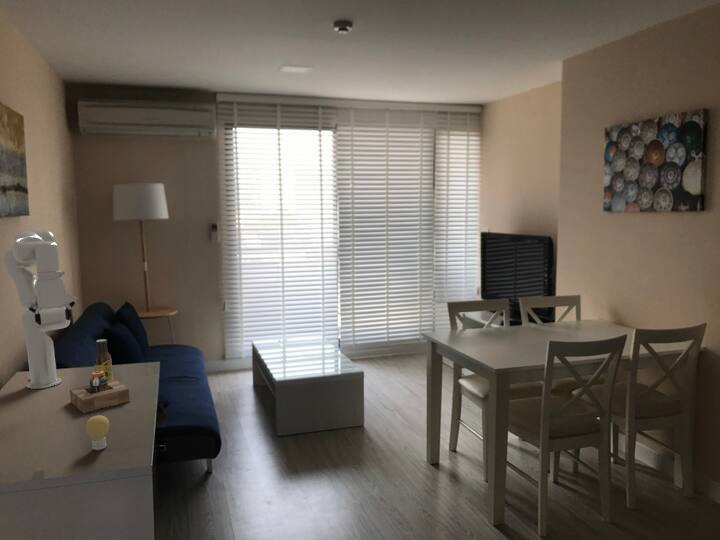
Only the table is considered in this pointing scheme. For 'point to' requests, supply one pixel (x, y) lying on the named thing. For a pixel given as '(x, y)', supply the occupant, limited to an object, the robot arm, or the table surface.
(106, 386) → the pill bottle
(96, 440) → the light bulb
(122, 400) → the socket block
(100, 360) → the sauce bottle
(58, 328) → the robot arm
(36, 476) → the table surface
